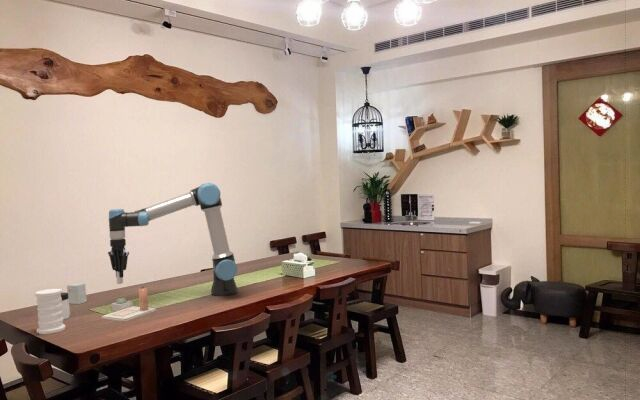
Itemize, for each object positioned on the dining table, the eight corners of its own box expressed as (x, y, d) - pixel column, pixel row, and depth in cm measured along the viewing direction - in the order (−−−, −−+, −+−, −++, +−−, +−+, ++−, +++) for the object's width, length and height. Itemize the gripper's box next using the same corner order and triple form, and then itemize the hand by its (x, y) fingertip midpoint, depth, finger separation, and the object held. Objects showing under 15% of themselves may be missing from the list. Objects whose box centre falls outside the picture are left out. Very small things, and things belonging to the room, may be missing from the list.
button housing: (132, 307, 266) (132, 301, 266) (121, 311, 260) (121, 304, 260) (122, 306, 270) (122, 300, 270) (111, 310, 263) (110, 303, 263)
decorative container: (30, 333, 227) (28, 293, 227) (52, 325, 238) (50, 287, 237) (49, 334, 223) (47, 294, 222) (71, 327, 234) (68, 288, 233)
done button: (127, 305, 266) (127, 298, 266) (121, 307, 262) (121, 300, 262) (122, 305, 268) (121, 297, 267) (115, 307, 264) (115, 299, 264)
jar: (66, 314, 258) (64, 291, 257) (73, 317, 252) (72, 293, 252) (47, 319, 251) (46, 295, 250) (54, 321, 246) (53, 297, 245)
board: (156, 310, 258) (156, 308, 258) (125, 321, 240) (125, 318, 240) (133, 308, 265) (133, 306, 265) (101, 318, 247) (101, 316, 247)
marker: (150, 308, 257) (148, 285, 257) (144, 311, 254) (142, 287, 253) (144, 308, 259) (142, 285, 258) (138, 310, 255) (136, 287, 255)
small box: (86, 301, 286) (85, 283, 285) (79, 304, 280) (77, 285, 280) (75, 301, 288) (74, 283, 288) (67, 303, 283) (66, 285, 282)
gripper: (132, 238, 264) (134, 282, 265) (114, 237, 269) (116, 281, 270) (121, 239, 257) (123, 285, 258) (102, 239, 263) (105, 284, 264)
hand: (120, 283), depth 264 cm, fingers closed
